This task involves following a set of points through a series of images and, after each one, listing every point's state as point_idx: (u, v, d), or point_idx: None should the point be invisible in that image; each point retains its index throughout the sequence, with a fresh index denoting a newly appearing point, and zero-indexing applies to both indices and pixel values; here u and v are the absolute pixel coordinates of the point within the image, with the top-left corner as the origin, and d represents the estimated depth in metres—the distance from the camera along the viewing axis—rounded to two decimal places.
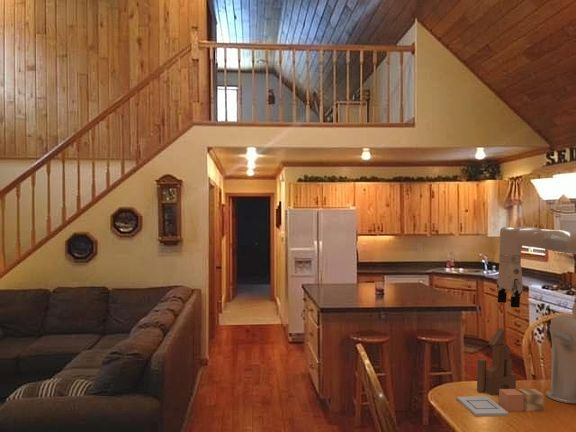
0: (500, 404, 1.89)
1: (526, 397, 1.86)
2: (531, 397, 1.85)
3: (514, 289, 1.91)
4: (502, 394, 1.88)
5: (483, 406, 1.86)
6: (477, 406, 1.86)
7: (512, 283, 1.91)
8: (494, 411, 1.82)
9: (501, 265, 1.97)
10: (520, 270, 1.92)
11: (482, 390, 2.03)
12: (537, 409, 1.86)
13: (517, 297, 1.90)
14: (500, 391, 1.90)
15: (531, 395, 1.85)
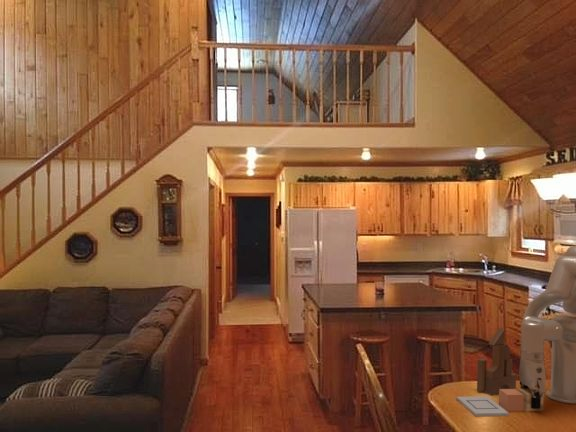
0: (500, 404, 1.89)
1: (526, 396, 1.86)
2: None
3: None
4: (502, 394, 1.88)
5: (483, 406, 1.86)
6: (477, 406, 1.86)
7: (535, 382, 1.83)
8: (494, 411, 1.82)
9: (523, 360, 1.90)
10: (543, 368, 1.84)
11: (482, 390, 2.03)
12: (537, 409, 1.86)
13: (538, 398, 1.84)
14: (500, 391, 1.90)
15: (531, 395, 1.85)
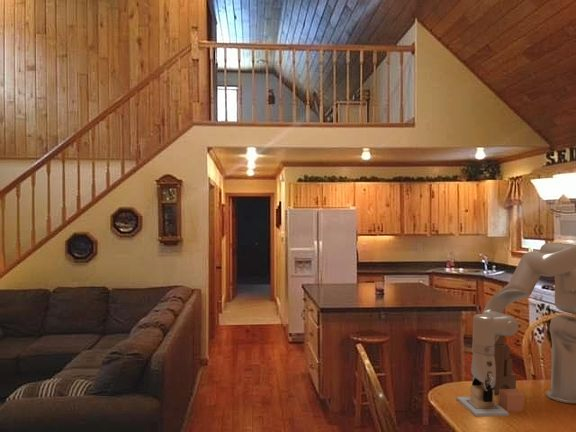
0: (500, 404, 1.89)
1: (477, 393, 1.85)
2: (481, 393, 1.85)
3: (487, 382, 1.83)
4: (502, 394, 1.88)
5: None
6: None
7: (485, 376, 1.83)
8: (494, 411, 1.82)
9: (474, 354, 1.89)
10: (493, 362, 1.83)
11: None
12: (488, 405, 1.85)
13: (490, 391, 1.82)
14: (500, 391, 1.90)
15: (482, 392, 1.85)
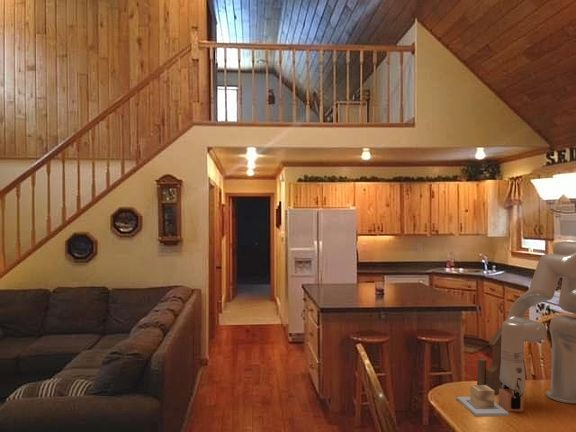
0: (500, 404, 1.89)
1: (477, 393, 1.85)
2: (481, 393, 1.85)
3: (515, 390, 1.84)
4: (502, 394, 1.88)
5: None
6: None
7: (515, 383, 1.83)
8: (494, 411, 1.82)
9: (503, 360, 1.89)
10: (523, 369, 1.83)
11: None
12: (488, 405, 1.85)
13: (518, 399, 1.83)
14: (500, 391, 1.90)
15: (482, 392, 1.85)
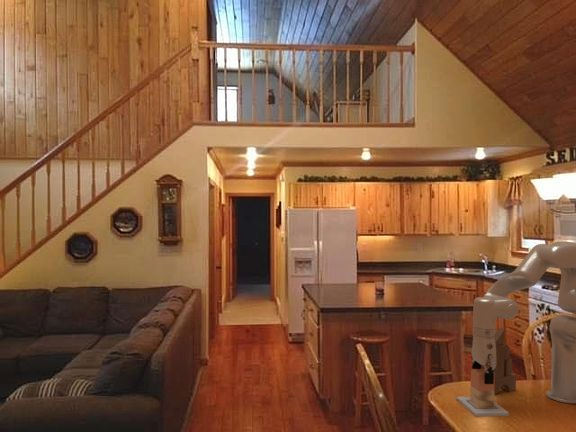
0: (472, 384, 1.89)
1: (477, 393, 1.85)
2: (481, 393, 1.85)
3: (488, 365, 1.83)
4: (474, 374, 1.88)
5: None
6: None
7: (486, 359, 1.83)
8: (494, 411, 1.82)
9: (475, 337, 1.89)
10: (494, 345, 1.83)
11: None
12: (488, 405, 1.85)
13: (491, 374, 1.82)
14: (472, 371, 1.90)
15: (482, 392, 1.85)
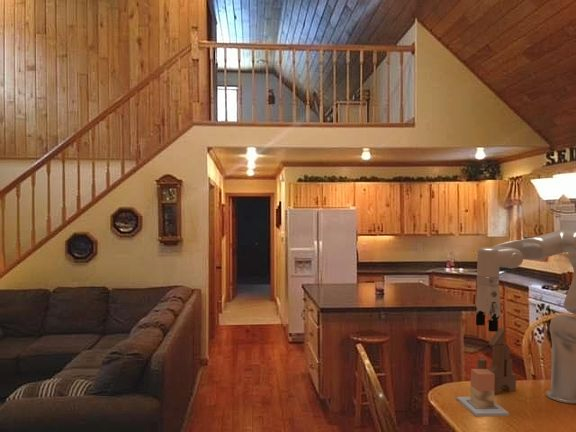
0: (472, 384, 1.89)
1: (477, 393, 1.85)
2: (481, 393, 1.85)
3: (492, 312, 1.85)
4: (474, 374, 1.88)
5: None
6: None
7: (490, 306, 1.84)
8: (494, 411, 1.82)
9: (479, 287, 1.91)
10: (498, 293, 1.85)
11: None
12: (488, 405, 1.85)
13: (495, 321, 1.84)
14: (472, 371, 1.90)
15: (482, 392, 1.85)
